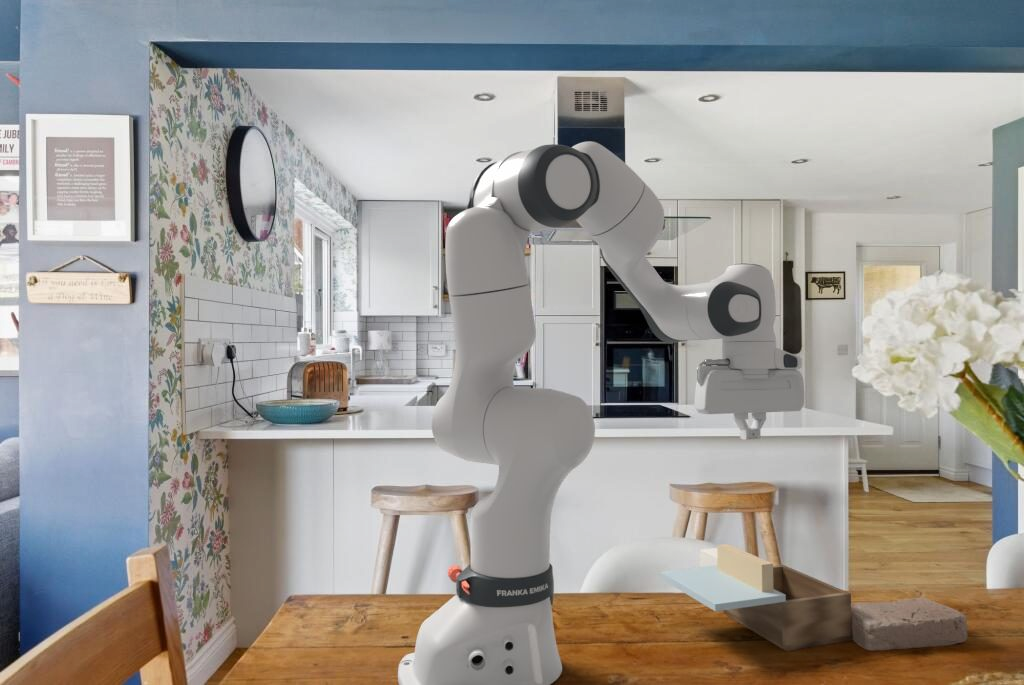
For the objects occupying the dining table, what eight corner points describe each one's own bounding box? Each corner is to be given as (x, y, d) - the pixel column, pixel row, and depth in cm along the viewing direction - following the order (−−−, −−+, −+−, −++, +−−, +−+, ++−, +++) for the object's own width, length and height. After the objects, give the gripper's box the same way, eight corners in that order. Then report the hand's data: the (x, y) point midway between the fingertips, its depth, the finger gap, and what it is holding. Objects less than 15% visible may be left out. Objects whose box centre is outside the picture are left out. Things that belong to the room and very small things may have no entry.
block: (720, 605, 115) (719, 559, 115) (700, 593, 121) (699, 549, 121) (741, 602, 117) (741, 556, 117) (721, 591, 122) (720, 547, 122)
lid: (715, 611, 94) (714, 575, 94) (660, 578, 108) (660, 547, 108) (785, 601, 97) (785, 567, 97) (723, 570, 112) (723, 540, 112)
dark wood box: (786, 651, 97) (785, 602, 97) (724, 613, 111) (723, 571, 112) (851, 640, 101) (850, 593, 101) (783, 605, 115) (782, 564, 115)
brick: (869, 654, 97) (869, 621, 97) (834, 630, 105) (833, 600, 105) (971, 647, 99) (970, 615, 99) (928, 625, 107) (927, 595, 108)
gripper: (708, 359, 108) (709, 443, 108) (809, 358, 115) (811, 438, 114) (686, 359, 115) (687, 439, 114) (784, 358, 121) (785, 434, 120)
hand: (750, 439), depth 114 cm, fingers closed
